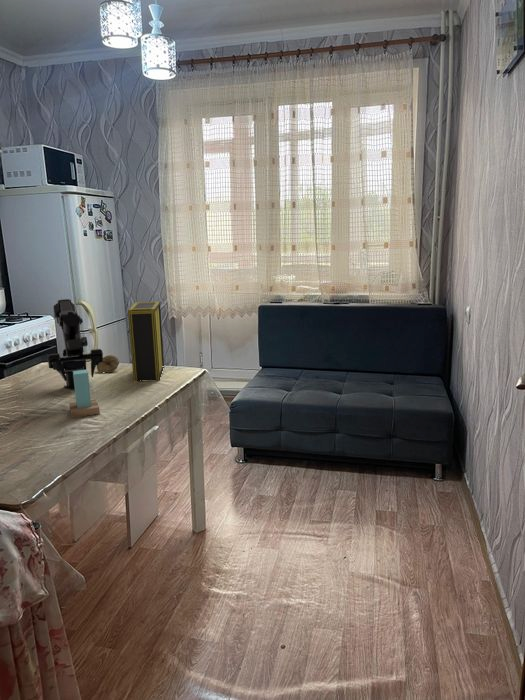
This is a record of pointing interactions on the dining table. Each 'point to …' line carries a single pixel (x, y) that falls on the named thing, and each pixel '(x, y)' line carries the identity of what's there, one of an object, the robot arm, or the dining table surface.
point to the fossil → (108, 364)
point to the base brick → (84, 409)
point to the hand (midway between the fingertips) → (79, 378)
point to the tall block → (82, 388)
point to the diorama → (146, 340)
